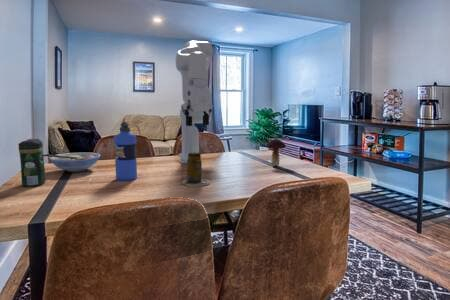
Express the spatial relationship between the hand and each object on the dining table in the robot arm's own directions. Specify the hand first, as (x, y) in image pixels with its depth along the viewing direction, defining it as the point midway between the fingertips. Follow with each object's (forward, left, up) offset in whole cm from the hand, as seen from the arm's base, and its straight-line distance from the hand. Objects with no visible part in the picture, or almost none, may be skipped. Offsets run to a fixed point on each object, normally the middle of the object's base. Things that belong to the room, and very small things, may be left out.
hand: (197, 125), depth 137 cm
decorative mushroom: (+12, +50, -25) cm, 57 cm away
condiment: (+1, -3, -24) cm, 24 cm away
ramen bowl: (-62, -19, -25) cm, 69 cm away
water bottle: (-29, -15, -25) cm, 41 cm away
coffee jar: (-51, -44, -25) cm, 71 cm away
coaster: (+1, -3, -24) cm, 25 cm away
